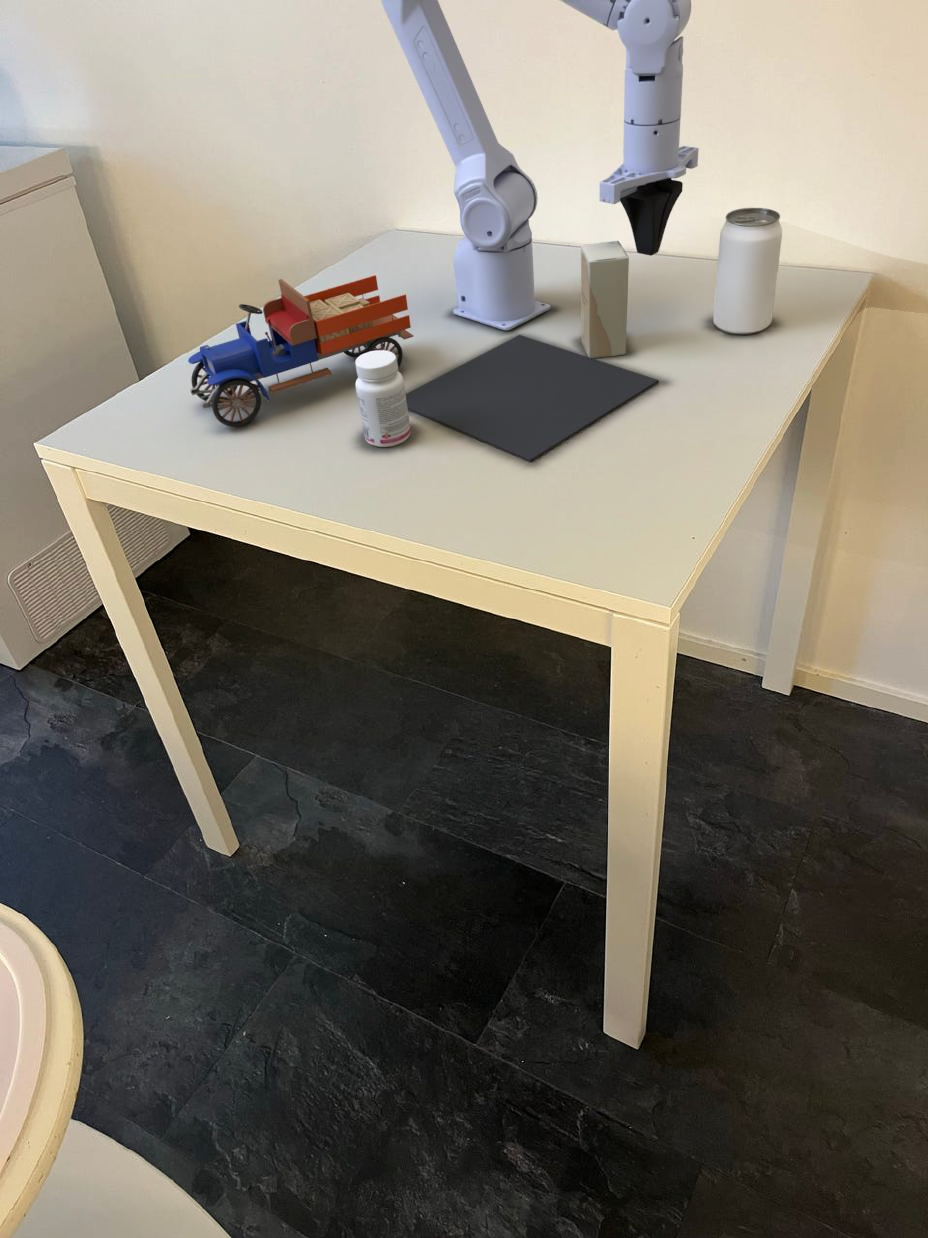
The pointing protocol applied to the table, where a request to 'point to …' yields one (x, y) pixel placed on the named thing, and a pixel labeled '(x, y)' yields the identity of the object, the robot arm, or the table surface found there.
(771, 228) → the can
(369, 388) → the pill bottle
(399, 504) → the table surface
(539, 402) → the mat
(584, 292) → the box
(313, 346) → the toy truck
